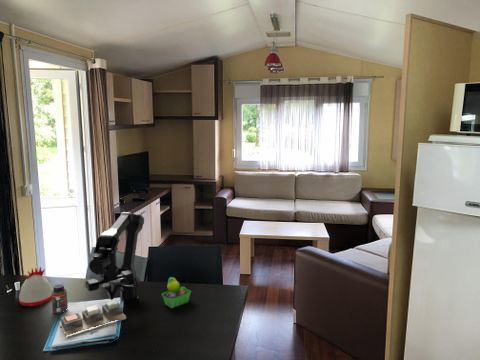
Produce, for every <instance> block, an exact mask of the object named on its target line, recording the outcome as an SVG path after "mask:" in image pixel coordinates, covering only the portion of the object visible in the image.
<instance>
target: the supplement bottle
mask: <svg viewBox="0 0 480 360" xmlns="http://www.w3.org/2000/svg"><path fill="white" fill-rule="evenodd" d="M52 289H53V291H52V293H51V296H52V299H51V305H52V306H51V307H52V313H54V314H56V315H59V314H63V313H64V312H63V311H65V310H66V309H67V308H69V307H68V306H69V305H68V294H67V290H66V289H65V286H64V284H62V283H61V284H59V283H58V284H55V285H53V287H52ZM67 310H68V309H67ZM62 312H63V313H62ZM65 312H66V311H65Z"/></svg>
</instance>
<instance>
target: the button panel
mask: <svg viewBox="0 0 480 360" xmlns="http://www.w3.org/2000/svg"><path fill="white" fill-rule="evenodd" d="M118 306H119V307H117V308H114V309H111V310H108V309H107V308H106V304H103V305H101V308H100V307H99V306H97V307H98V308H99V313H97V314H94V315H91V316H88V315H87V314H86V309H85V310H82V311H81V315H80V313H79V312H75V313H71V314H68V315H65V316H62V317H61V316H60V321H58V323H59V324H60V325H61V327H62V329H63V330H64V332H65V334H66V336H67V335H70V334H73V333H76V332H78V331H81V330H85V329H89V328H91V327H96V326H99V325H103V324H105V323H108V322H111V321H115V320H121V321H124V320H126V319H127V316H126V314H124V311H123V306H122V305H121V304H120V303H119V302H118ZM74 314H76V315H77V317H78V319H77V320H74V321H71V322H67V323H66V321H65V317H67V316H70V315H74ZM60 325H59V326H60ZM61 327H60V328H61ZM62 329H61V330H62ZM64 332H63V333H64ZM65 334H64V335H65ZM66 336H65V337H66Z"/></svg>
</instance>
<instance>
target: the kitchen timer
mask: <svg viewBox="0 0 480 360" xmlns="http://www.w3.org/2000/svg"><path fill="white" fill-rule="evenodd" d="M27 273H28V275H26V274H24V277H25V278H26V279H25V281H24V282H23V284H22V285H21V287H20V291H19V295H18V300H19V304H20V305H21V306H25V307H34V306H38V305H39V306H40V305H43V304H45V303H47V302H49V301H52V296H51V293H52V291H54V290H53V289H54V288H53V287H52V285H51V283H50V282H51V280H49V279H47V278H46V277H45V276H43V275H44V273H45V268H43V270H42V267H41V266H39V268H38V269H37V267H35V270H34V269H33V268H31V272H30V271H29V270H28V271H27Z"/></svg>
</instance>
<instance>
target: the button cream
mask: <svg viewBox="0 0 480 360" xmlns="http://www.w3.org/2000/svg"><path fill="white" fill-rule="evenodd" d="M98 307H99V306H97V305H96V304H95V305H91V306H88V307H86V308H85V310H86V314H87V315H88V316H91V315H94V314H97V313H99V308H100V307H99V308H98Z"/></svg>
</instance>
